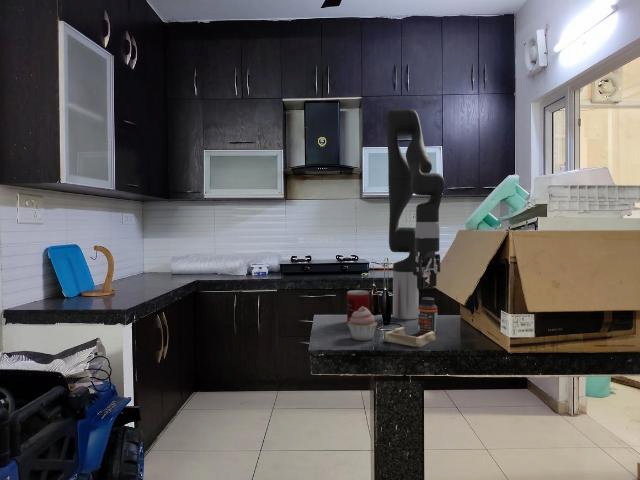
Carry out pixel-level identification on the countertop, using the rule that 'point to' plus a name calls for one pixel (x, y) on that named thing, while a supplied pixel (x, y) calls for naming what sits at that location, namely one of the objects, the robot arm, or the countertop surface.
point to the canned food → (356, 301)
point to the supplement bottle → (427, 316)
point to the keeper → (408, 338)
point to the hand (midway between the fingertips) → (426, 287)
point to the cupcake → (362, 325)
